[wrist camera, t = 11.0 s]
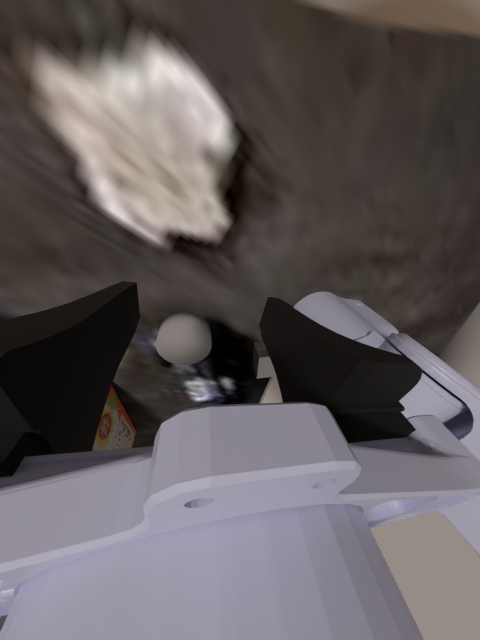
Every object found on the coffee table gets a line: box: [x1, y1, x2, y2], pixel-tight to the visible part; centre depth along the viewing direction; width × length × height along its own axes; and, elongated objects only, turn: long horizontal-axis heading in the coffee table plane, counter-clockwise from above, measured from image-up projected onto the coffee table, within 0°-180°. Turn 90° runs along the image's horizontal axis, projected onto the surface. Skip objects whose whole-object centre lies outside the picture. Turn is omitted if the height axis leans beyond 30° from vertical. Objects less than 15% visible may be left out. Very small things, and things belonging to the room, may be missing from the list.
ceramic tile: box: [259, 376, 283, 404], centre depth 34 cm, size 11×11×1 cm
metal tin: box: [252, 342, 276, 379], centre depth 27 cm, size 5×4×3 cm
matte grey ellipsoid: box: [156, 312, 212, 365], centre depth 23 cm, size 6×6×2 cm
